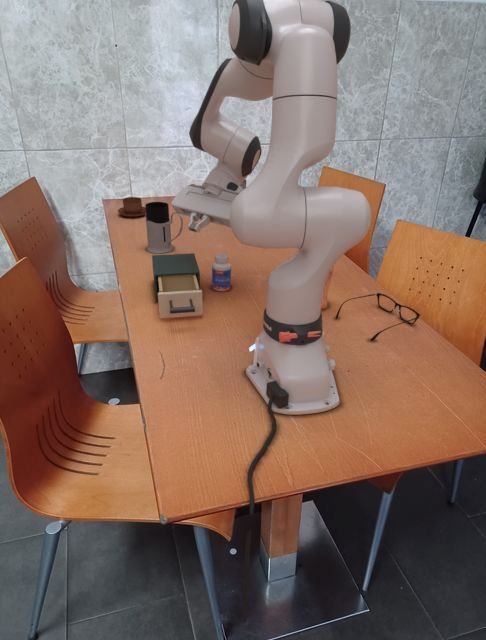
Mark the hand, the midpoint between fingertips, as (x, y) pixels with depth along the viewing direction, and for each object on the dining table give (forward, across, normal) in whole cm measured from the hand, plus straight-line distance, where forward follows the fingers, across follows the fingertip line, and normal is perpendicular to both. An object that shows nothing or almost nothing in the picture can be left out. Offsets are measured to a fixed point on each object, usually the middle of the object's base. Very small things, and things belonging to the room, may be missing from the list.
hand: (192, 230), depth 129 cm
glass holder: (-8, -30, +30) cm, 43 cm away
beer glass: (-2, +30, +24) cm, 39 cm away
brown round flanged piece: (-26, -68, +45) cm, 85 cm away
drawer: (+18, +3, +9) cm, 21 cm away
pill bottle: (+3, +3, +21) cm, 22 cm away
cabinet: (+11, -7, +16) cm, 20 cm away
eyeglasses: (-2, +47, +23) cm, 53 cm away
